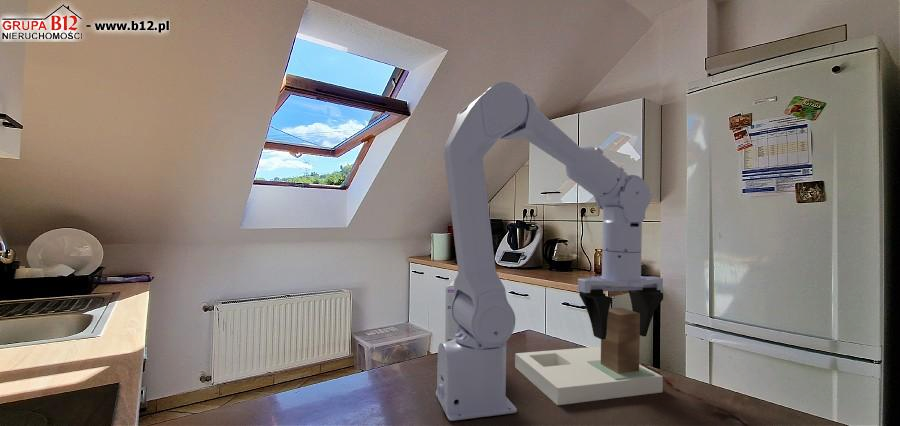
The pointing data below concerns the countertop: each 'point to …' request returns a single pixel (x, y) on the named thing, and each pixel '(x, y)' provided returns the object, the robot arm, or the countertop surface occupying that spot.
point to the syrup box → (450, 323)
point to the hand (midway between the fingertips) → (620, 336)
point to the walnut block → (621, 341)
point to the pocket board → (579, 376)
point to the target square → (619, 376)
